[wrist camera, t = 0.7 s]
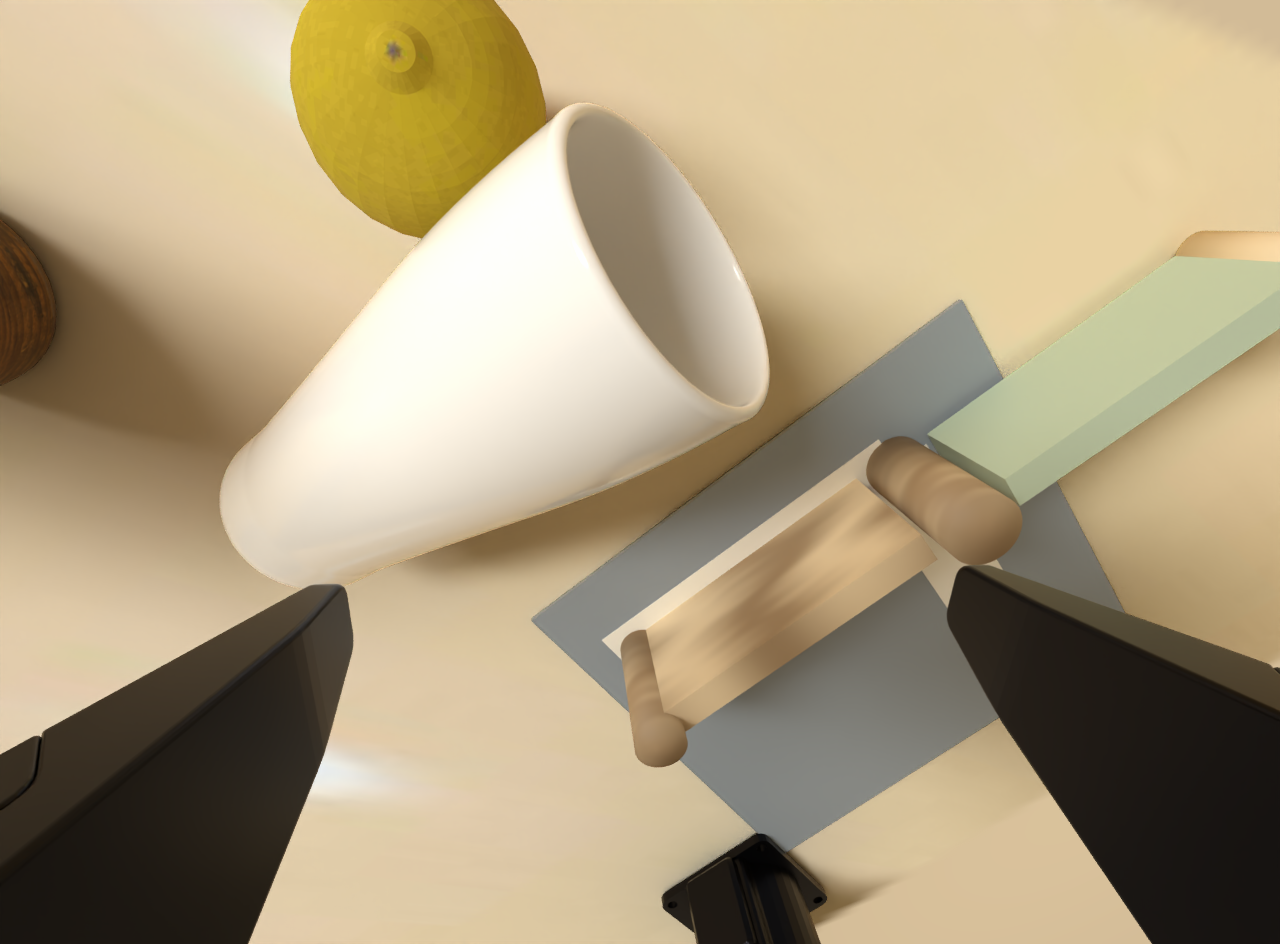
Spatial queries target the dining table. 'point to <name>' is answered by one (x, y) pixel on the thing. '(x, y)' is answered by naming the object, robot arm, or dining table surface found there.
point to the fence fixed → (806, 588)
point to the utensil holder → (22, 307)
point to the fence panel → (1120, 364)
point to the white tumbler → (509, 364)
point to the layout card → (860, 648)
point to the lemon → (411, 100)
